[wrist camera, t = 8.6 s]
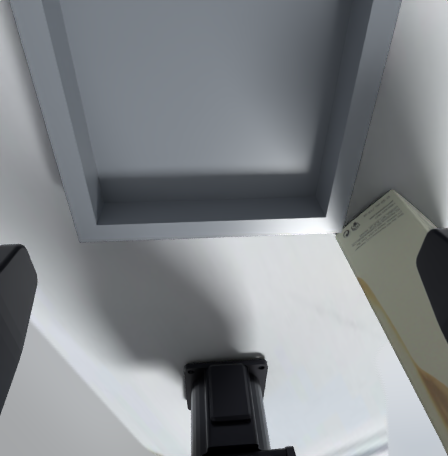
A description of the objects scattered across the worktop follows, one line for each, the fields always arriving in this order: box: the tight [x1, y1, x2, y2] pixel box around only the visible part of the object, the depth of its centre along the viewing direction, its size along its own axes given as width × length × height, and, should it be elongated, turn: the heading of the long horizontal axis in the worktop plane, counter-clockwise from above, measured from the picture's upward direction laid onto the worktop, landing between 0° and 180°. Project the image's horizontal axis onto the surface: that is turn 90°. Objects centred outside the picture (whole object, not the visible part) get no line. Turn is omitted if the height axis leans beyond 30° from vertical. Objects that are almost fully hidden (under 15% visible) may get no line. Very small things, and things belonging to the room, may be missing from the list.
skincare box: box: [336, 190, 448, 455], centre depth 18 cm, size 6×4×12 cm
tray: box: [9, 0, 402, 243], centre depth 16 cm, size 13×13×2 cm
